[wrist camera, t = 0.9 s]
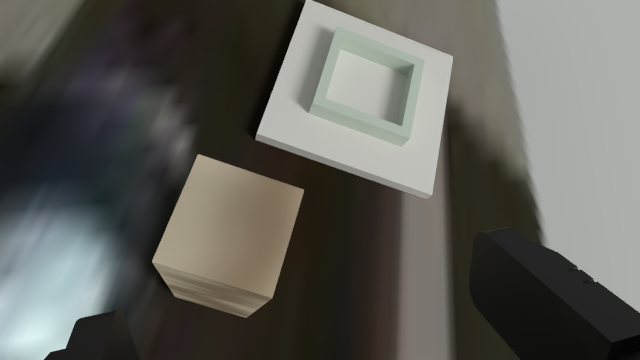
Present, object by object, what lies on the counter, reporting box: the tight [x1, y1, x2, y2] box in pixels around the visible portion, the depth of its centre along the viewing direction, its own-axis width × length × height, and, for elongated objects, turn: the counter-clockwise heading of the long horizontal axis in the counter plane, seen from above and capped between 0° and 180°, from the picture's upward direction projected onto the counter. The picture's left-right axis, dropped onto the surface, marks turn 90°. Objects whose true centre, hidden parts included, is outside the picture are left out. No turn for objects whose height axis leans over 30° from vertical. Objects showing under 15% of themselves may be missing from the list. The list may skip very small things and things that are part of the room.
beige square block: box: [152, 154, 304, 318], centre depth 22 cm, size 5×5×12 cm
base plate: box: [255, 0, 453, 199], centre depth 34 cm, size 14×14×2 cm
